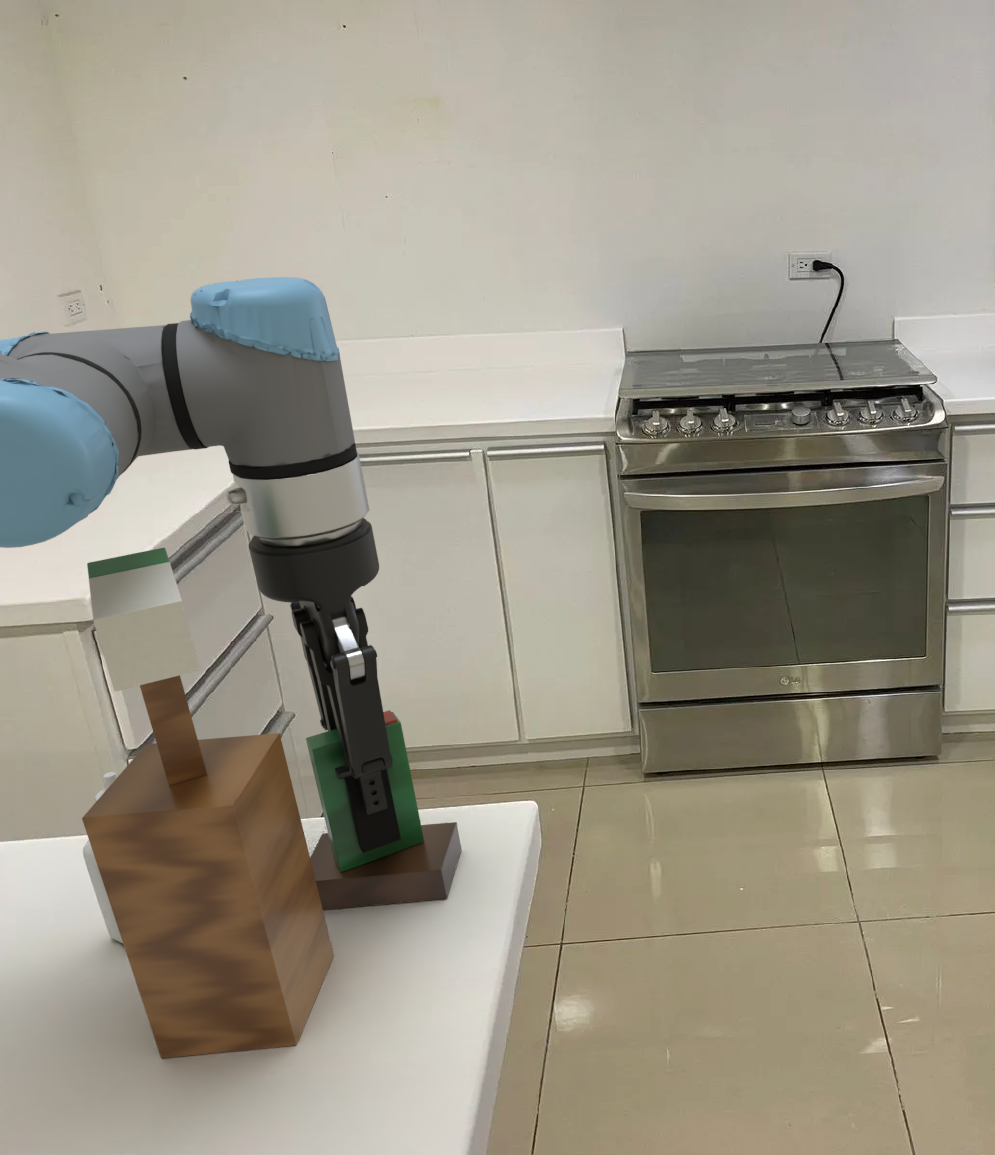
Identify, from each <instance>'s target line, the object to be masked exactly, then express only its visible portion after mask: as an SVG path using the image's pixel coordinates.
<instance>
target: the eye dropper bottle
mask: <svg viewBox="0 0 995 1155" xmlns="http://www.w3.org/2000/svg"><path fill="white" fill-rule="evenodd" d="M117 777H118V775H117V773H116V772H115V771H110V772H106V773H105V774H103V776H102V778H103V789H101V790H100V791H99V792H98V793H97V794H96V795H95V796H94V801H95V802H96V801H97V800H98V799H99V798H100V797H101V796H102V794H103V793H104V792H105V791H106V790H107V789H108V788H109V786H110V785H111V784H112V783H113V782H114V781H115V779H116V778H117ZM95 802H94V803H95ZM82 856H83V860H84V863H85V866H86V869H87V873H88V876H89V878H90V882H91V885H92V888H93V891H94V893H95V896H96V900H97V903H98V906H99V909H100V912H101V914H102V918H103V920H104V921H103V922H104V923H105V924H104V925H105V927H106V930H107V932H108V934H109V937H111V939H114V940H115V941H117V942H119V943H121V944H123V941H122V938H121V935H120V932H119V929H118V926H117V923H116V920H115V917H114V914H113V911H112V908H111V905H110V902H109V899H108V896H107V893H106V890H105V887H104V884H103V881H102V878H101V875H100V872H99V869H98V866H97V863H96V860H95V857H94V854H93V851H92V848H91V844H90V841H89V839H87V841H86V842H85V844H84V846H83V848H82Z"/></svg>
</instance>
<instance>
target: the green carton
mask: <svg viewBox="0 0 995 1155" xmlns="http://www.w3.org/2000/svg"><path fill="white" fill-rule="evenodd" d="M383 713H384V719H385V725H386V731H387V737H388V743H389V749H390V754H391V756H392V759H393V761H392V764H393V765H392V767H391V768H387V773H388V778H389V783H390V787H391V792H392V797H393V802H394V807H395V812H396V817H397V821H398V826H399V831H400V836H401V840H398V841H395V842H392V843H390V844H387V845H384V846H381V847H379V848H376V849H373V850H370V851H367V852H365V853H363V852H362V851H361V849H360V845H359V841H358V836H357V832H356V827H355V823H354V818H353V814H352V809H351V805H350V800H349V796H348V791H347V787H346V782H345V778H343V779H340V780H339V779H338V778H337V775H336V772H335V769H334V768H337V767H340V766H343V765H345V760H344V755H343V751H342V747H341V743H340V739H339V735H338V730H337V729H334V730H331V731H328V730H326V731H325V732H321V733H317V734H314V735H311V736H308V737H305V741H306V746H307V750H308V755H309V758H310V763H311V767H312V771H313V775H314V780H315V784H316V788H317V793H318V797H319V801H320V805H321V811H322V814H323V818H324V822H325V827H326V831H327V833H328V835H329V840H330V844H331V848H332V852H333V857H334V860H335V862H336V864H337V866H338V868H339V870H340V872H343V871H346V870H349V869H351V868H354V867H357V866H359V865H362V864H365V863H368V862H370V861H373V860H376V859H379V858H381V857H384V856H387V855H390V854H392V853H395V852H398V851H401V850H403V849H406V848H409V847H411V846H414V845H417V844H420V843H422V842H424V837H423V832H422V827H421V825H422V823H421V817H420V813H419V807H418V802H417V797H416V793H415V787H414V782H413V777H412V773H411V767H410V762H409V756H408V752H407V747H406V742H405V737H404V732H403V727H402V722H401V721H400V719H399V718H398V716H396V714H395V712H394V711H391V710H390V709H389V710H386V711H383Z"/></svg>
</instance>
